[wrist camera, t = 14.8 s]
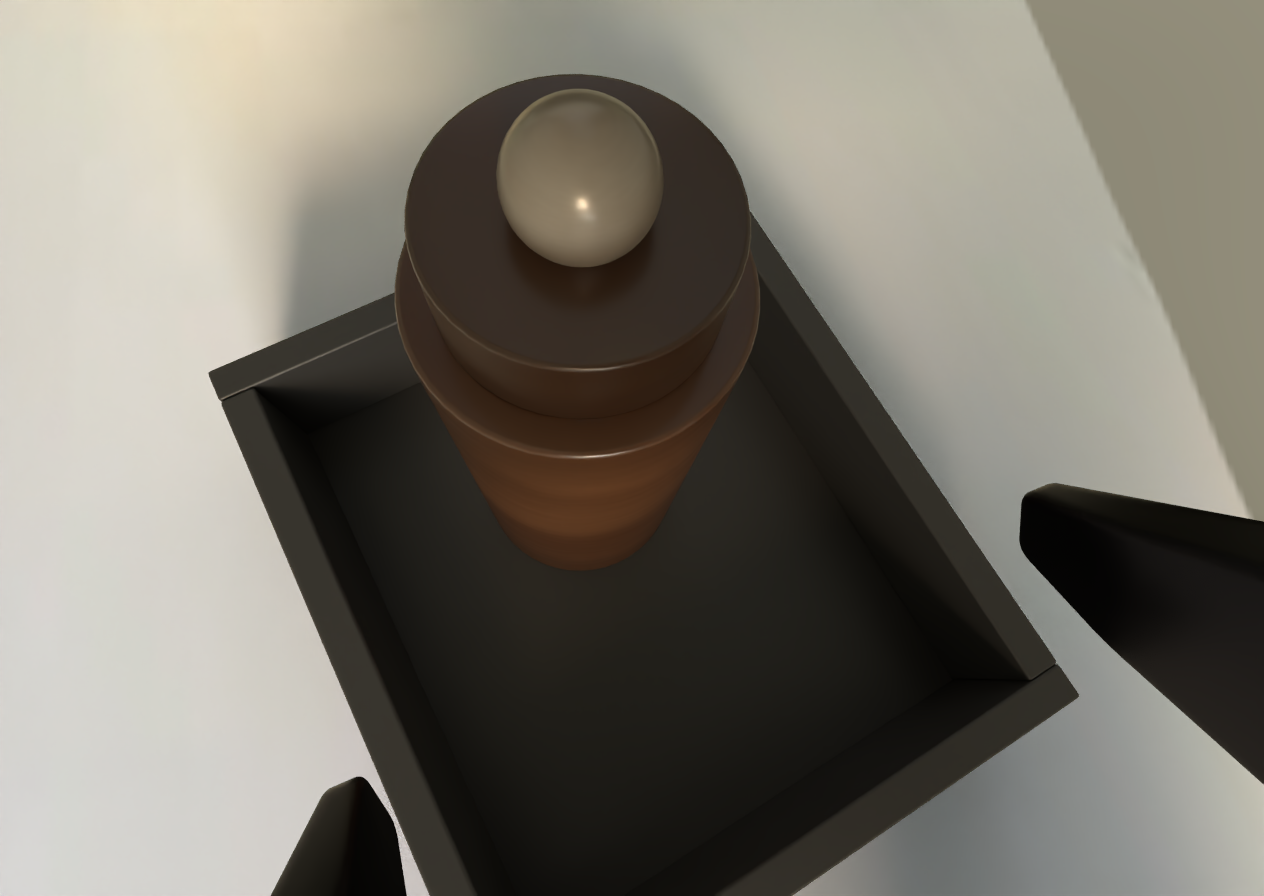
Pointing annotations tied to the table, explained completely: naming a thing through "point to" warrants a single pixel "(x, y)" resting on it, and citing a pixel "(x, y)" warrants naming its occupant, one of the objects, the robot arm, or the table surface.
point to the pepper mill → (577, 304)
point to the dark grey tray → (643, 626)
